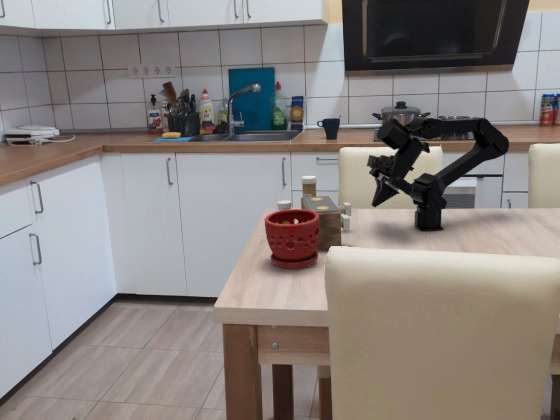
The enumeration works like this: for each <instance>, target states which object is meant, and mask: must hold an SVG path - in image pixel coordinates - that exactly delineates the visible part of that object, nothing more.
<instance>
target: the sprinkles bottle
mask: <svg viewBox="0 0 560 420" xmlns="http://www.w3.org/2000/svg"><path fill="white" fill-rule="evenodd" d="M317 182H318V180H317V176H315V175H303V176H302V177H301V185H302V187H301V188H302V193H301V194H302V198H303V197H317Z"/></svg>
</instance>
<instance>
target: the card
mask: <svg viewBox="0 0 560 420" xmlns="http://www.w3.org/2000/svg"><path fill="white" fill-rule="evenodd" d="M328 196H329V195H324V196H323V197H320V196H316V197H307V198H303V197H302V198H303V199H304V201H305V203H306V205H307V207H308V209H309V210H310V211H314V212H316V213H324V212H338V210H337V209H336V207H335V206H336V205H335V206H334V204H335V203H334V202H333V203H334V204H333V203H332V202H331V200H332V199H331V198H330V199H331V200H330V199H329V197H330V196H329V197H328Z"/></svg>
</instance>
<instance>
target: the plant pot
mask: <svg viewBox="0 0 560 420" xmlns="http://www.w3.org/2000/svg"><path fill="white" fill-rule="evenodd" d="M294 219H295V220H297V223H295V224H294V223H293V220H294ZM308 220H309V221H308ZM285 221H288V222H289V223H290V224H283V222H285ZM302 222H304V223H302ZM276 223H278V224H276ZM264 229H265V235H266V239H267V243H268V246H269V249H270V251H271V255H270V258H271V261H272V263H273V264H275V266H278V267H280V268H284V269H300V268H307V267H308V266H311V265H313V264H314V263H315V262H316V261H317V260H318V257H319V252H317V251H316V248H317V245H318V242H319V234H320V221H319V215H318V214H317V213H316V212H314V211H310V210H304V209H301V208H299V209H298V208H292V209H290V210H282V211H277V212H272V213H269V214H268V215H266V217H264Z"/></svg>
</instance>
